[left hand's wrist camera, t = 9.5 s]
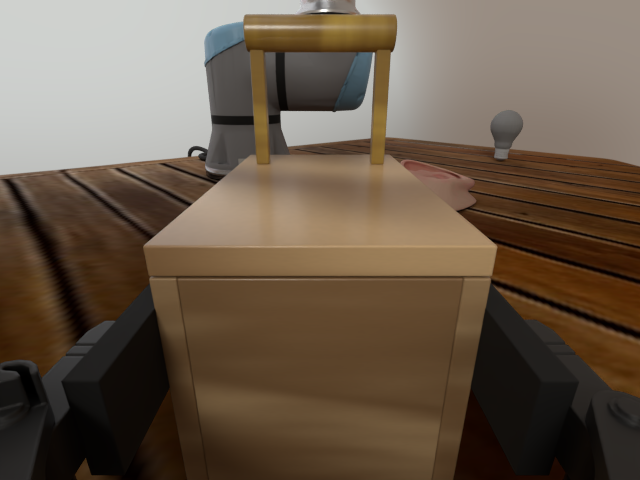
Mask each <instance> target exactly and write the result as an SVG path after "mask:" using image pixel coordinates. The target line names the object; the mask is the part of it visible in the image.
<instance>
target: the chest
mask: <svg viewBox="0 0 640 480" xmlns="http://www.w3.org/2000/svg"><path fill="white" fill-rule="evenodd" d="M149 281H150V286H151V292H152V297H153V302H154V307H155V311H156V317H157V322H158V327H159V332H160V338H161V343H162V348H163V354H164V359H165V364H166V370H167V375H168V380H169V385H170V392H171V397H172V403H173V408H174V413H175V419H176V424H177V429H178V434H179V440H180V445H181V450H182V456H183V461H184V466H185V471H186V477H187V480H453V478H454V473H455V467H456V462H457V457H458V452H459V446H460V441H461V436H462V430H463V425H464V420H465V415H466V409H467V404H468V399H469V393H470V388H471V382H472V377H473V371H474V366H475V361H476V356H477V350H478V345H479V340H480V334H481V329H482V324H483V319H484V313H485V308H486V304H487V298H488V293H489V288H490V283H491V279H490V277H489V276H152V277H151V278H150V279H149Z"/></svg>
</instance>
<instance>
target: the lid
mask: <svg viewBox="0 0 640 480" xmlns="http://www.w3.org/2000/svg"><path fill="white" fill-rule="evenodd" d="M243 30H244V40H245V46H246V49H247V51H248V52H250V65H251V81H252V97H253V113H254V129H255V145H256V155H250V156H249V157H247V158H246V159H245V160H244V161H243V162H242V163H240V164H239V165H238V166H237V167H236V168H235V169H233V170H232V171H231V172H230V173H229V174H227V175H226V176H225V177H224V178H223V179H222V180H220V181H219V182H218V183H217V184H216V185H215V186H213V187H212V188H211V189H210V190H209V191H207V192H206V193H205V194H204V195H203V196H202V197H200V198H199V199H198V200H197V201H196V202H195V203H193V204H192V205H191V206H190V207H189V208H187V209H186V210H185V211H184V212H183V213H182V214H180V215H179V216H178V217H177V218H176V219H175V220H173V221H172V222H171V223H170V224H169V225H167V226H166V227H165V228H164V229H163V230H162V231H160V232H159V233H158V234H157V235H156V236H155V237H153V238H152V239H151V240H150V241H149V242H147V243H146V244H145V245H144V247H143V249H144V254H145V259H146V264H147V270H148V275H149V276H492V272H493V267H494V262H495V257H496V251H497V245H495V244H494V243H493V242H492V241H491V240H489V239H488V238H487V237H486V236H485V235H484V234H482V233H481V232H480V231H479V230H478V229H476V228H475V227H474V226H473V225H472V224H471V223H469V222H468V221H467V220H466V219H465V218H464V217H462V216H461V215H460V214H459V213H458V212H456V211H455V210H454V209H453V208H452V207H451V206H449V205H448V204H447V203H446V202H445V201H443V200H442V199H441V198H440V197H439V196H438V195H436V194H435V193H434V192H433V191H432V190H431V189H429V188H428V187H427V186H426V185H425V184H423V183H422V182H421V181H420V180H419V179H418V178H416V177H415V176H414V175H413V174H412V173H410V172H409V171H408V170H407V169H406V168H405V167H403V166H402V165H401V164H400V163H399V162H398V161H396V160H395V159H394V158H393V157H392V156H390V155H384V151H385V135H386V119H387V103H388V87H389V71H390V55H391V52H393V50H394V47H395V42H396V35H397V18H396V15H394V14H383V15H382V14H381V15H380V14H376V15H375V14H374V15H373V14H372V15H371V14H293V15H292V14H285V15H284V14H280V15H279V14H277V15H276V14H271V15H270V14H256V15H255V14H252V15H251V14H247V15H245V16H244V21H243ZM265 52H375V63H374V84H373V104H372V125H371V145H370V155H270V140H269V119H268V99H267V78H266V57H265Z"/></svg>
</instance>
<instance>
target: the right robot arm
mask: <svg viewBox="0 0 640 480" xmlns="http://www.w3.org/2000/svg"><path fill="white" fill-rule="evenodd" d="M295 14H360V13H359V12H358V10H357V9H356V7H355V0H300V8H299V10H298V11H297V12H296V13H295ZM372 54H373V52H265V57H266V78H267V99H268V119H269V140H270V155H290V153H289V150H288V147H287V145H286V142H285V139H284V136H283V133H282V130H281V120H280V111H333V112H336V111H344V110H355V109H357V108H358V107H359V106H360V105H361V104H362V102H363V99H364V96H365V93H366V88H367V84H368V79H369V73H370V68H371V61H372ZM205 67H206V73H207V82H208V92H209V101H210V110H211V119H212V134H211V139H210V143H209V148H208V150H207V149H205V148H202V147H199V146H194V147H191V148H190V149H189V151H188V157H191V155H192V152H193V151H194V150H200V151H203V152H204V153H201V154H199V155H198V157H199V158H200V159H202V160H206V164H205V167H206V175H207V176H209V177H211V178H214V179H219V180H222V179H223V178H224V177H225V176H226V175H227V174H229V173H230V172H231V171H232V170H233V169H235V168H236V167H237V166H238V165H239V164H240V163H242V162H243V161H244V160H245V159H246V158H247V157H249V156H250V155H256V145H255V129H254V113H253V97H252V81H251V65H250V52H248V51H247V49H246V46H245V40H244V30H243V22H238V23H232V24H227V25H223V26H220V27H217V28H215V29H213V30H211V31H210V32H209V33H208V34H207V35H206V38H205Z"/></svg>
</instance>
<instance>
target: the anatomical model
mask: <svg viewBox="0 0 640 480" xmlns="http://www.w3.org/2000/svg"><path fill="white" fill-rule="evenodd" d="M400 164H401V165H402V166H403V167H405V168H406V169H407V170H408V171H409V172H410V173H412V174H413V175H414V176H415V177H416V178H418V179H419V180H420V181H421V182H422V183H423V184H425V185H426V186H427V187H428V188H429V189H431V190H432V191H433V192H434V193H435V194H436V195H438V196H439V197H440V198H441V199H442V200H443V201H445V202H446V203H447V204H448V205H449V206H451V207H452V208H453V209H454V210H455V211H459V210H462V209H465V208H467V207H470V206H472V205H473V204H475V203H476V199H475V198H474V197H473V196H472V195H470V194H469V192H468V190H469V189H471V188H472V187H473V186H474V184H475V182H474V180H472V179H470V178H468V177H465V176H462V175H460V174H457V173H454V172H452V171H449V170H446V169H443V168H439V167H436V166H432V165H429V164H426V163H422V162H418V161H414V160H403V161H401V163H400Z"/></svg>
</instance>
